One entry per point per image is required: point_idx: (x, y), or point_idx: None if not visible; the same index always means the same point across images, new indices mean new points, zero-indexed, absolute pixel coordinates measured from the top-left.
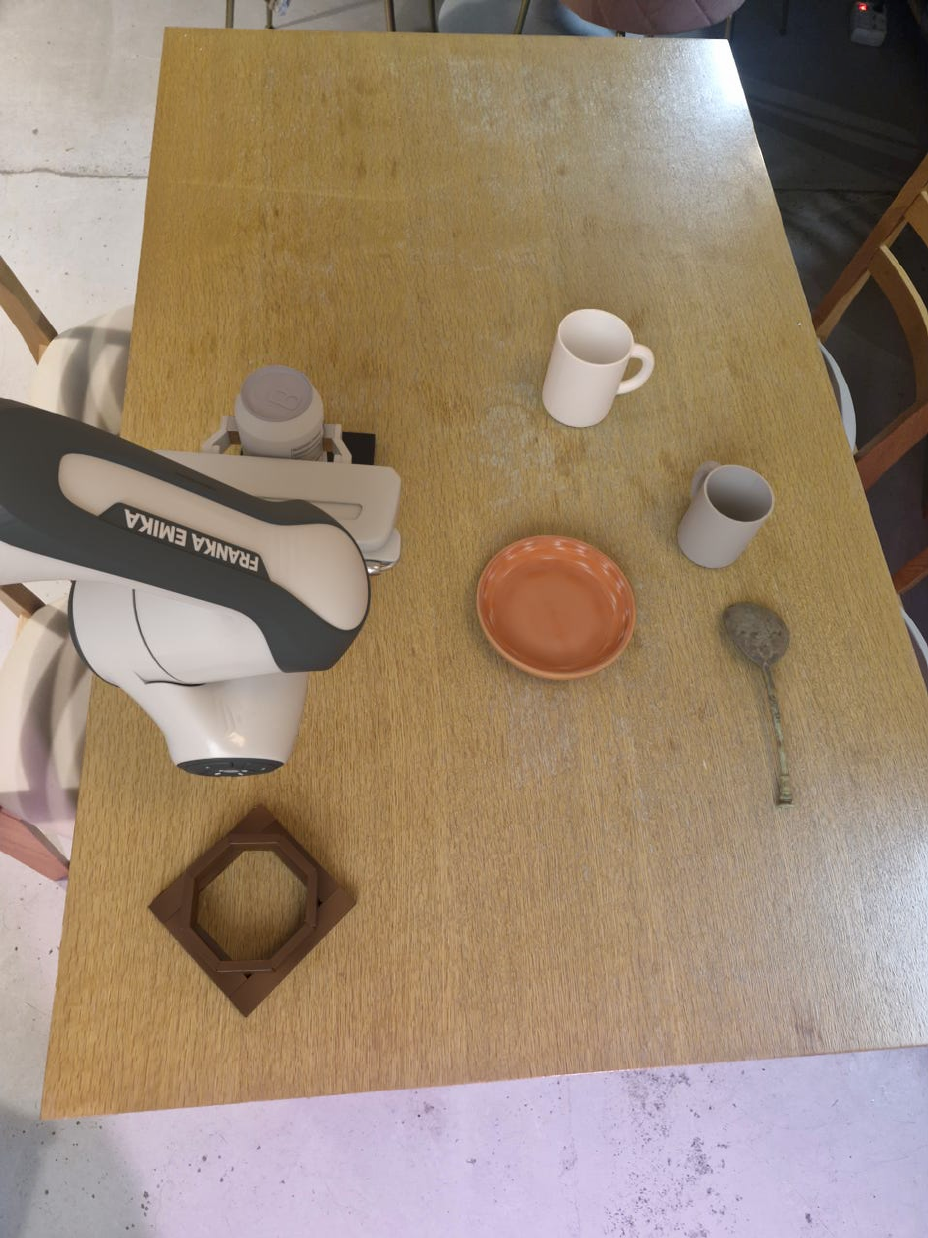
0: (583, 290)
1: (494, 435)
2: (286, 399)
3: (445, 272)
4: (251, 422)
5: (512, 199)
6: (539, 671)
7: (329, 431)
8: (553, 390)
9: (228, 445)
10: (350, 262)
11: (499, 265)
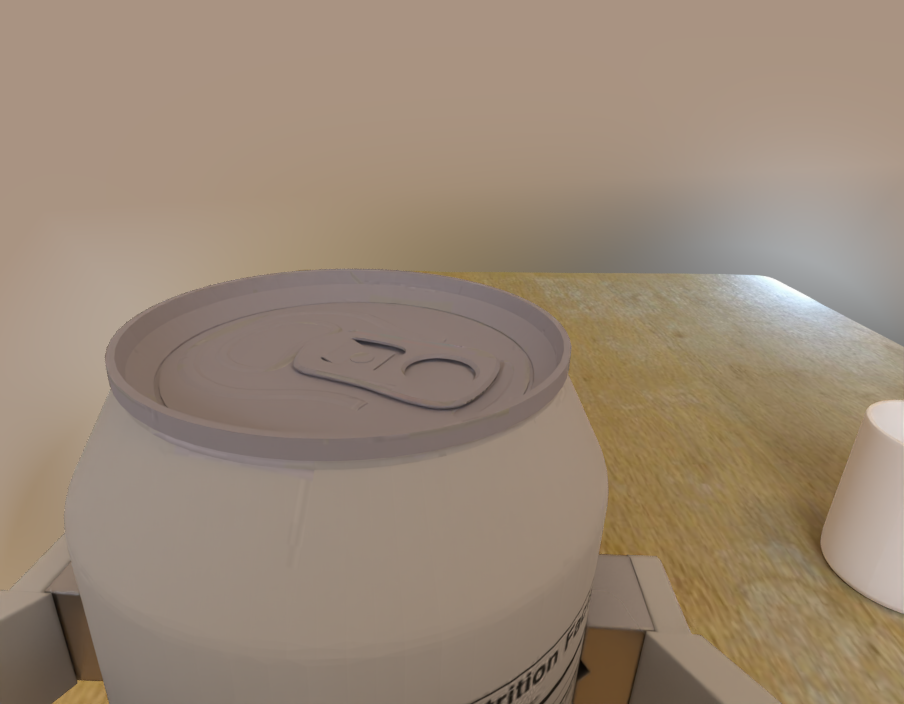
0: (779, 426)
1: (783, 640)
2: (407, 370)
3: (587, 410)
4: (125, 488)
5: (638, 353)
6: None
7: (615, 591)
8: (879, 543)
9: (53, 689)
10: None
11: (654, 404)
